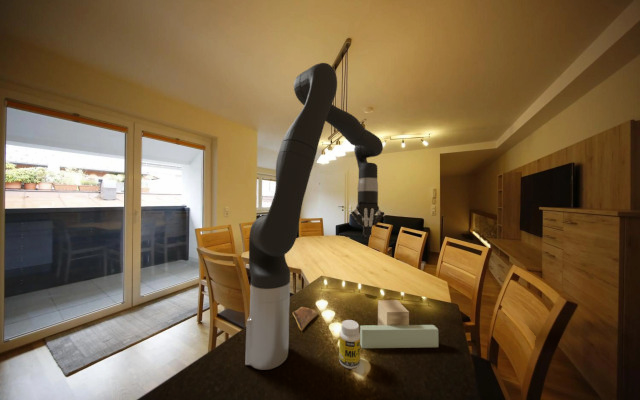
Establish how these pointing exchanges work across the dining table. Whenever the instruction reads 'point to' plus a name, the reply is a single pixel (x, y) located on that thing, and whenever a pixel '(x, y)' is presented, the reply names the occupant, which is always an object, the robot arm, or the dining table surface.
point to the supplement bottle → (349, 344)
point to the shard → (304, 316)
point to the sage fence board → (398, 336)
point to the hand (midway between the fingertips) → (367, 236)
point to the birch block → (392, 313)
